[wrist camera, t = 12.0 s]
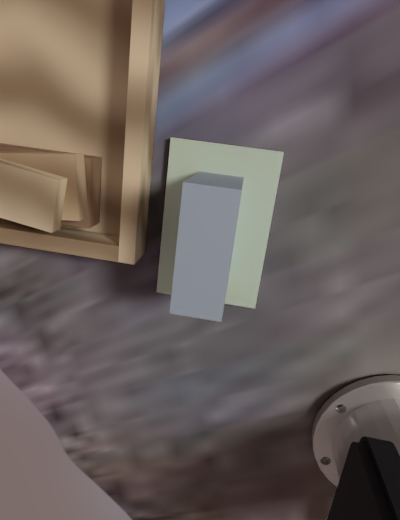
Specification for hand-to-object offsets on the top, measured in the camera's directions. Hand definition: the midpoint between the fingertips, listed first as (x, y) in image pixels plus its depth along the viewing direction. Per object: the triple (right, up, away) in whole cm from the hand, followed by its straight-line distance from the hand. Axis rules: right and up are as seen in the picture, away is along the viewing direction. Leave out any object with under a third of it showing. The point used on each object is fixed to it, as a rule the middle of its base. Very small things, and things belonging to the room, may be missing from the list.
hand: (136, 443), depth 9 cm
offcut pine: (-11, +9, +17) cm, 22 cm away
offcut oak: (-10, +10, +19) cm, 23 cm away
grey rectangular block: (+3, +6, +20) cm, 21 cm away
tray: (-9, +15, +19) cm, 26 cm away
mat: (+3, +7, +20) cm, 22 cm away
